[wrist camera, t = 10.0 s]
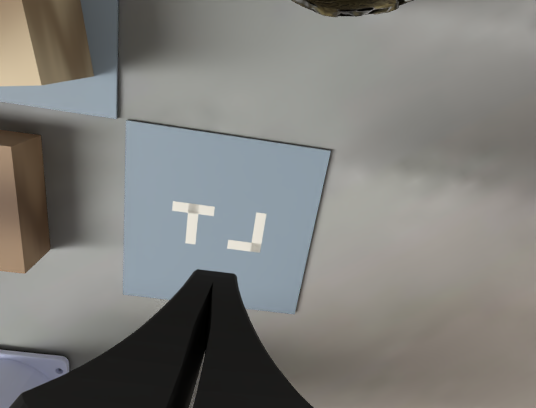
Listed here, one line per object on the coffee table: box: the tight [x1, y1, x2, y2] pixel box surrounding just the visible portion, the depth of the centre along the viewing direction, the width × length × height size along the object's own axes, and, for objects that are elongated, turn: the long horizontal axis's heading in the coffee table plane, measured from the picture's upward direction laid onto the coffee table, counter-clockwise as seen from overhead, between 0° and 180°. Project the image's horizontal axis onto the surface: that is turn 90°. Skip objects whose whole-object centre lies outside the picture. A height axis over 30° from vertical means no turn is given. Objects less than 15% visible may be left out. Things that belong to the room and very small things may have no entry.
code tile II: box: [0, 0, 118, 119], centre depth 18 cm, size 8×8×1 cm
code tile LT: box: [123, 120, 331, 314], centre depth 23 cm, size 11×11×1 cm
